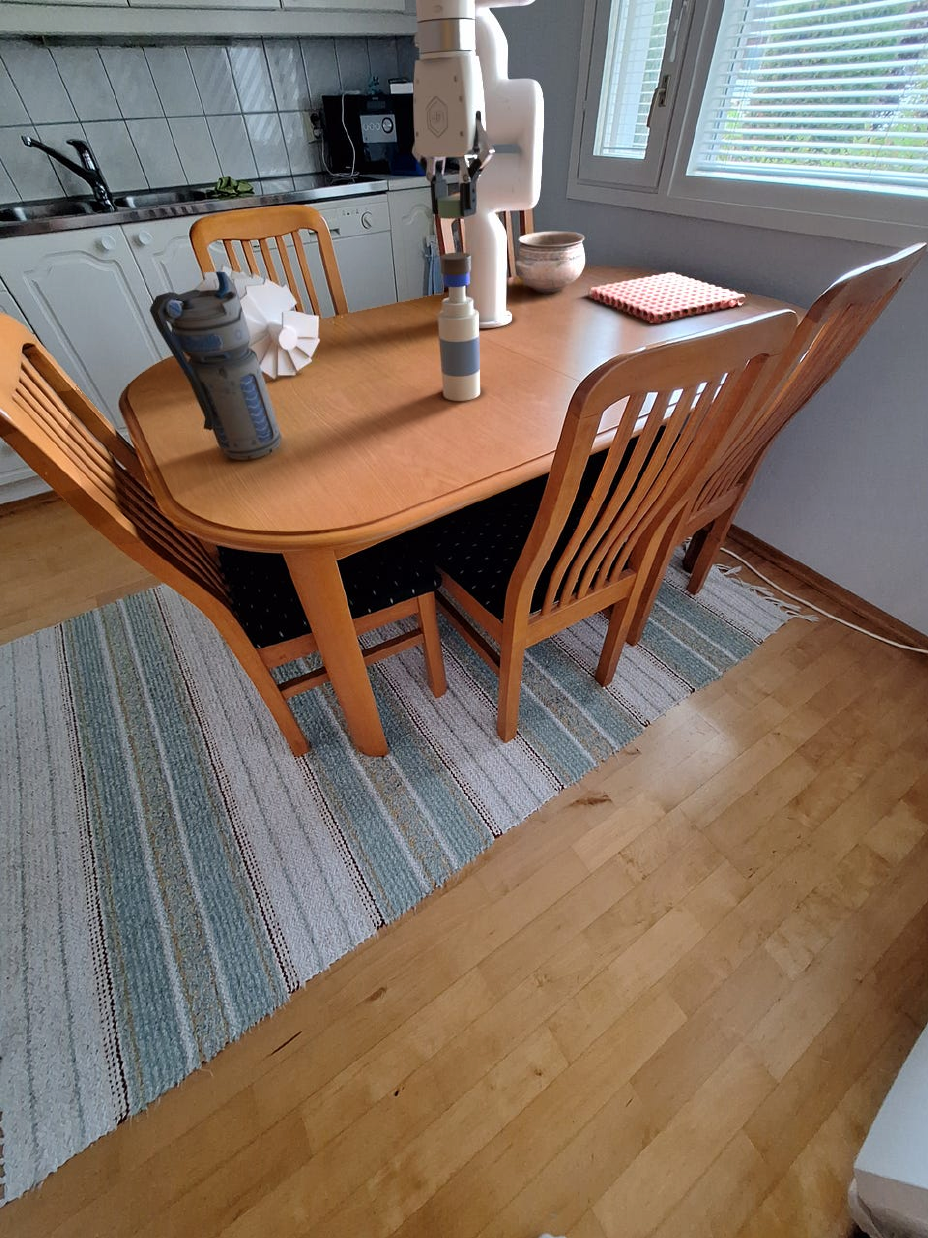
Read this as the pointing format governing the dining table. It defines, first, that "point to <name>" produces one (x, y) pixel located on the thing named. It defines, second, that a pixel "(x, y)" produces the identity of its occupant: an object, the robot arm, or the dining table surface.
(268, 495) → the dining table surface
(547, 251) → the cooking pot
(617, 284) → the pink perforated square mat
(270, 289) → the spiral staircase
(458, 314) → the cream bottle
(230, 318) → the beverage bottle
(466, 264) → the brown disc
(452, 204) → the sage cylinder
